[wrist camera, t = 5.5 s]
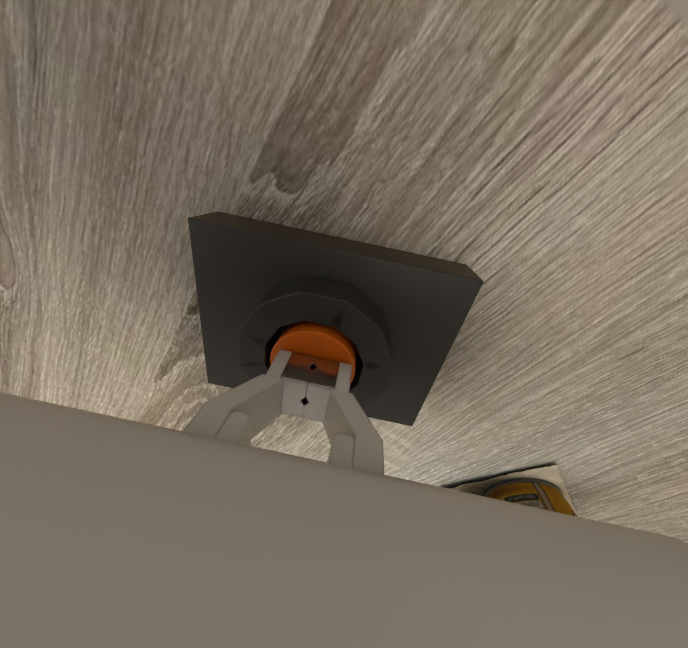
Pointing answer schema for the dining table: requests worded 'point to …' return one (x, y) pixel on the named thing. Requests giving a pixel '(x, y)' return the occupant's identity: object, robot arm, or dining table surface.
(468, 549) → the robot arm
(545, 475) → the condiment
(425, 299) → the dark grey button base
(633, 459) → the dining table surface
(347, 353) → the power button
